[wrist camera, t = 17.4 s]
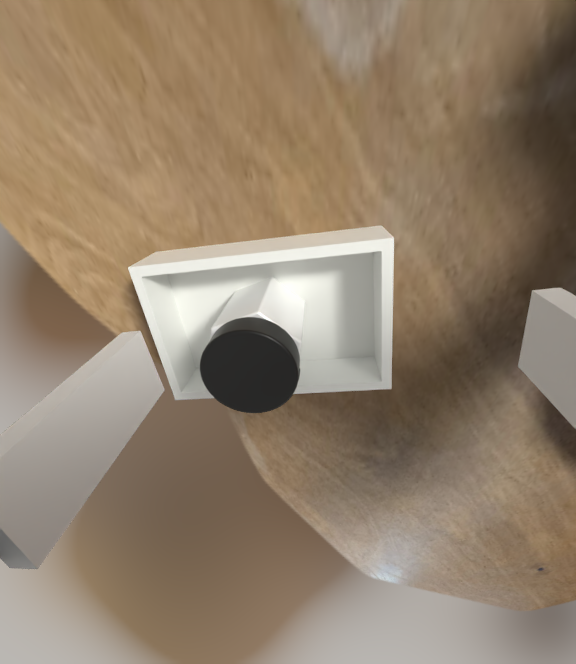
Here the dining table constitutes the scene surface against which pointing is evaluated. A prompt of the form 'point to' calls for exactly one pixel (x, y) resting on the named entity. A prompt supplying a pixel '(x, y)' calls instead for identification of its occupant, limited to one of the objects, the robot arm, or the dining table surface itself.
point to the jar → (255, 348)
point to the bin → (298, 276)
